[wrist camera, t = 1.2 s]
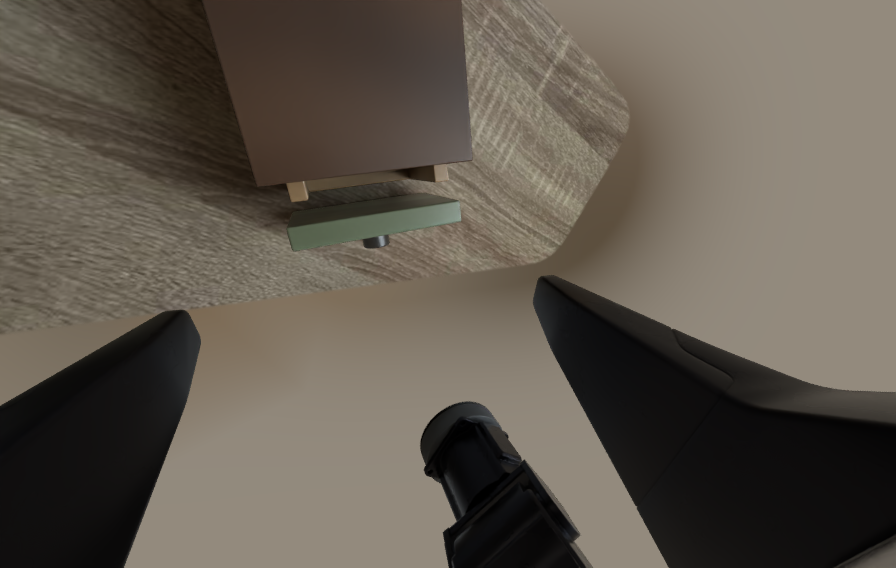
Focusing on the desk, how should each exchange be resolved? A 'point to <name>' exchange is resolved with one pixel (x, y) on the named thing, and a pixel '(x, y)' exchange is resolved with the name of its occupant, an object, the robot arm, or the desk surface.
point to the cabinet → (344, 84)
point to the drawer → (369, 210)
